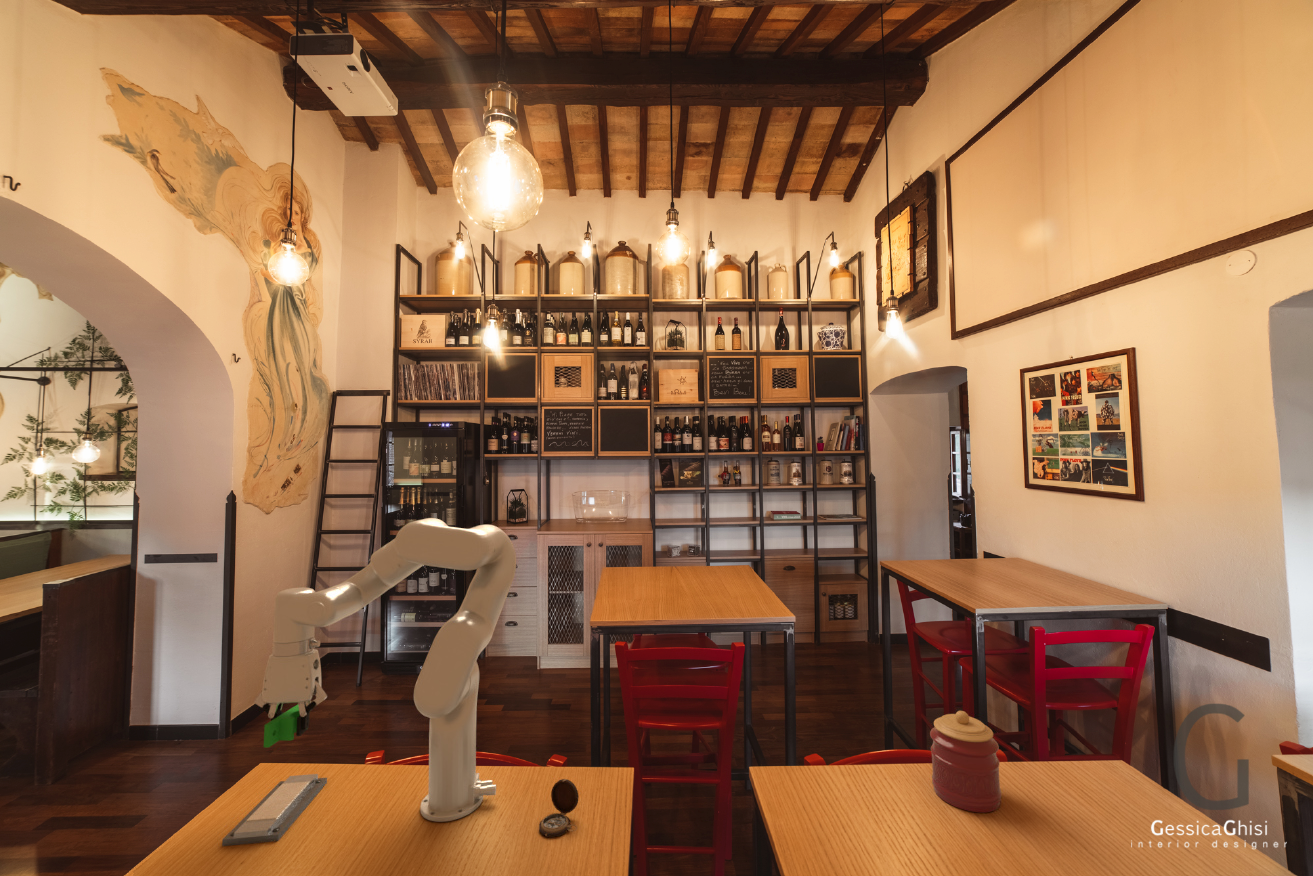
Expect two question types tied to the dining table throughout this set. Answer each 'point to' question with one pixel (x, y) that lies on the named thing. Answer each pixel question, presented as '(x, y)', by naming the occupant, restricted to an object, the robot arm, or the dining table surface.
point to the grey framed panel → (276, 811)
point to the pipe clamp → (281, 727)
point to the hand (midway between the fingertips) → (289, 732)
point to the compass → (560, 809)
